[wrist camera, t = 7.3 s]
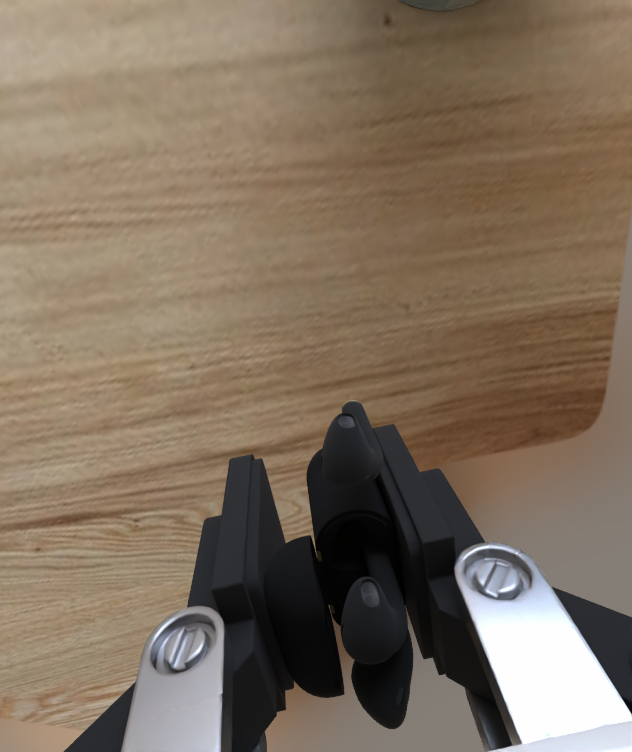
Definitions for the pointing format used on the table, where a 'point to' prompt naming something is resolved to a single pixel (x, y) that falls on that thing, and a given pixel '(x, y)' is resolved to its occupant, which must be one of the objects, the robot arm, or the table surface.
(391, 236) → the table surface
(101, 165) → the table surface
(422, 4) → the tumbler
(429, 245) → the table surface
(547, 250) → the table surface
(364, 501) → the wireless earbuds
